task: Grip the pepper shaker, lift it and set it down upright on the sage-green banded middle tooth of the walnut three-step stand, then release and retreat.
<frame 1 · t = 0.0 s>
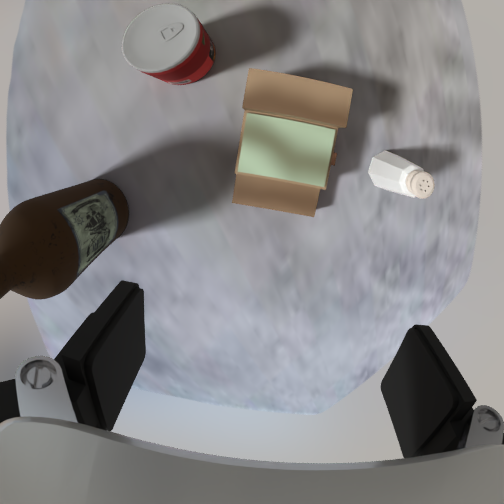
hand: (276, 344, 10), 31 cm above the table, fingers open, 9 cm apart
stand: (283, 146, 37), on the table
pepper shaker: (385, 170, 38), on the table
olive oil: (102, 210, 41), on the table
canned food: (186, 58, 33), on the table
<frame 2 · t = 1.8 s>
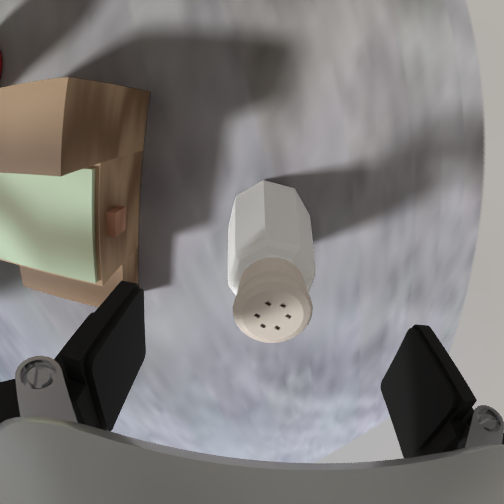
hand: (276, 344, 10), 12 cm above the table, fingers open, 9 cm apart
stand: (80, 193, 20), on the table
pepper shaker: (269, 218, 21), on the table
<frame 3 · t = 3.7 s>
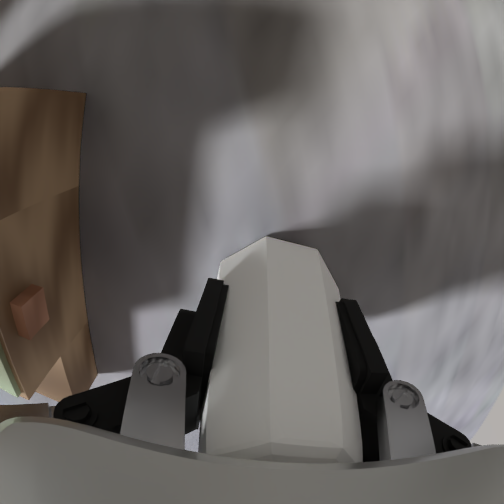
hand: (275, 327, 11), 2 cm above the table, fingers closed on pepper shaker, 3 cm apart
stand: (10, 243, 13), on the table
pepper shaker: (274, 293, 13), on the table, touching gripper
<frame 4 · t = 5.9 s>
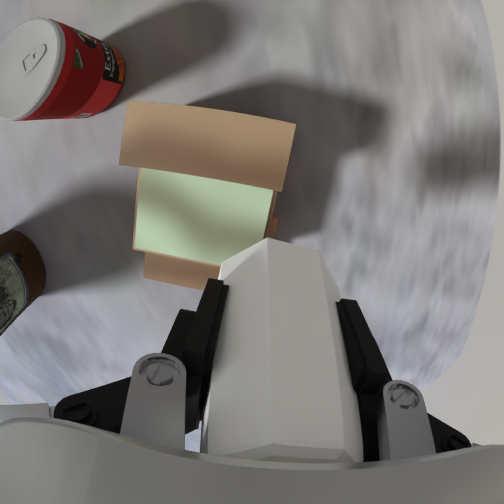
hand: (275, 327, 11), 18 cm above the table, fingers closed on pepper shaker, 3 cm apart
stand: (213, 199, 28), on the table
pepper shaker: (275, 294, 13), point 15 cm above the table, touching gripper
olive oil: (21, 264, 31), on the table
canned food: (93, 81, 24), on the table
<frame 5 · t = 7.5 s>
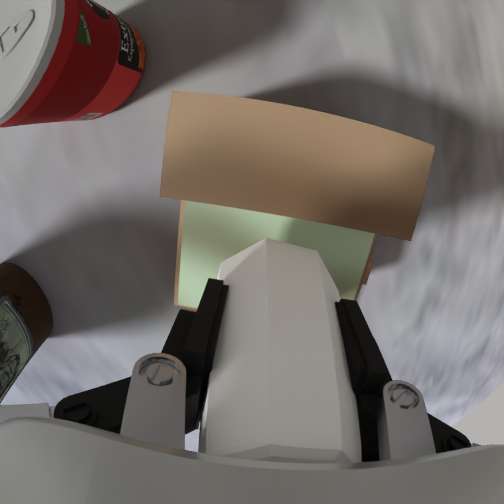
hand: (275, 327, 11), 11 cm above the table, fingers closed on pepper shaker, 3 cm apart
stand: (271, 227, 21), on the table
pepper shaker: (274, 294, 13), point 9 cm above the table, touching gripper
olive oil: (22, 302, 26), on the table
canned food: (101, 70, 18), on the table
when the fingers open (10 cm above the table, at t = 8.5 s): pepper shaker drops 1 cm, resting on stand.
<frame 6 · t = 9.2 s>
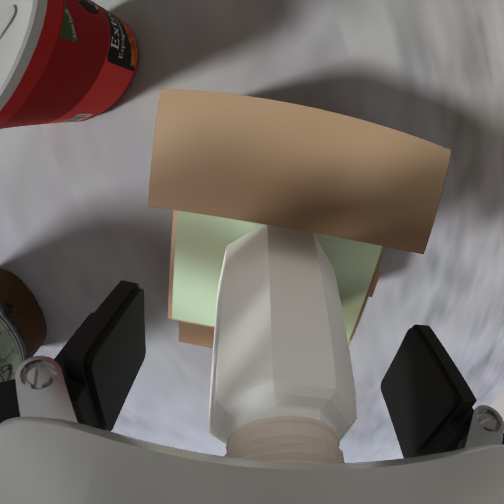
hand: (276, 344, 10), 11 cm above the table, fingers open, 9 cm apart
stand: (271, 235, 20), on the table
pepper shaker: (275, 275, 15), point 6 cm above the table, touching stand
olive oil: (15, 309, 25), on the table
canned food: (92, 69, 16), on the table
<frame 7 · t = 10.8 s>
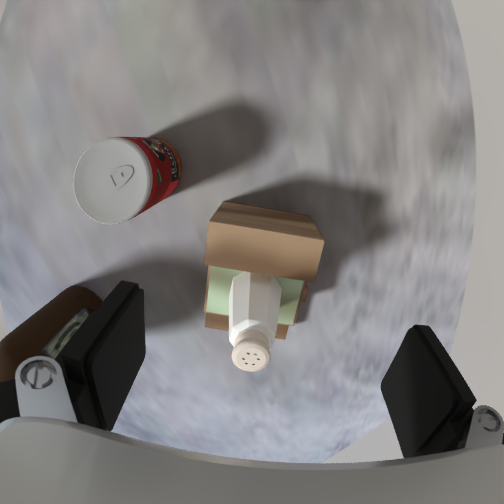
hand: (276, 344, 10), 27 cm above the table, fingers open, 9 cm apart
stand: (255, 268, 38), on the table
pepper shaker: (255, 290, 32), point 6 cm above the table, touching stand
olive oil: (85, 313, 42), on the table
canned food: (151, 170, 34), on the table
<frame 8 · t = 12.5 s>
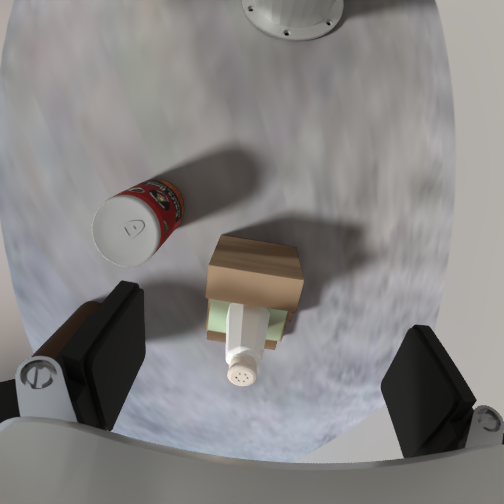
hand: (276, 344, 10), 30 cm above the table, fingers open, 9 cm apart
stand: (249, 290, 44), on the table
pepper shaker: (248, 313, 38), point 6 cm above the table, touching stand
olive oil: (101, 324, 48), on the table
canned food: (157, 206, 40), on the table
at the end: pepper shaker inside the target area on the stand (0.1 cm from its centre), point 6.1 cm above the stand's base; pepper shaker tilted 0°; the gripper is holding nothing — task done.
